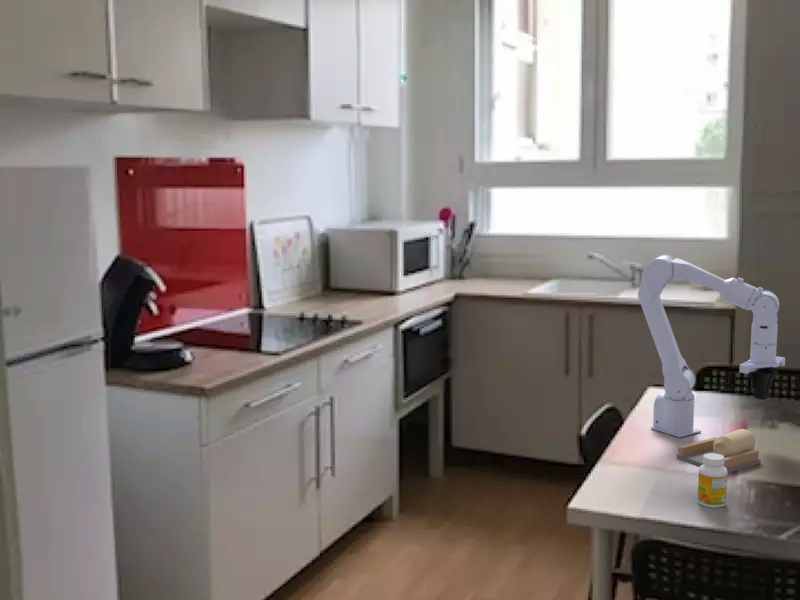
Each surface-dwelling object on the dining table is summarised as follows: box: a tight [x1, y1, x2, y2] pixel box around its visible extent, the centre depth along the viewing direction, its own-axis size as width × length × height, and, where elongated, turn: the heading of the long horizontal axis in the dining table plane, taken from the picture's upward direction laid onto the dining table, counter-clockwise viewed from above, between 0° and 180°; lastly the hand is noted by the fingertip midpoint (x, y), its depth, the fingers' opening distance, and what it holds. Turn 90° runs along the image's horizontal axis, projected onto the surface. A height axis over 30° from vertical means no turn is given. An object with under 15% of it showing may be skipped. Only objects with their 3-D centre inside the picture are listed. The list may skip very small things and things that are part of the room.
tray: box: [676, 437, 761, 474], centre depth 208 cm, size 13×12×3 cm
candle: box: [713, 428, 756, 458], centre depth 208 cm, size 6×6×10 cm
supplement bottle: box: [697, 453, 728, 509], centre depth 183 cm, size 5×5×10 cm
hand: (760, 398), depth 221 cm, fingers closed
